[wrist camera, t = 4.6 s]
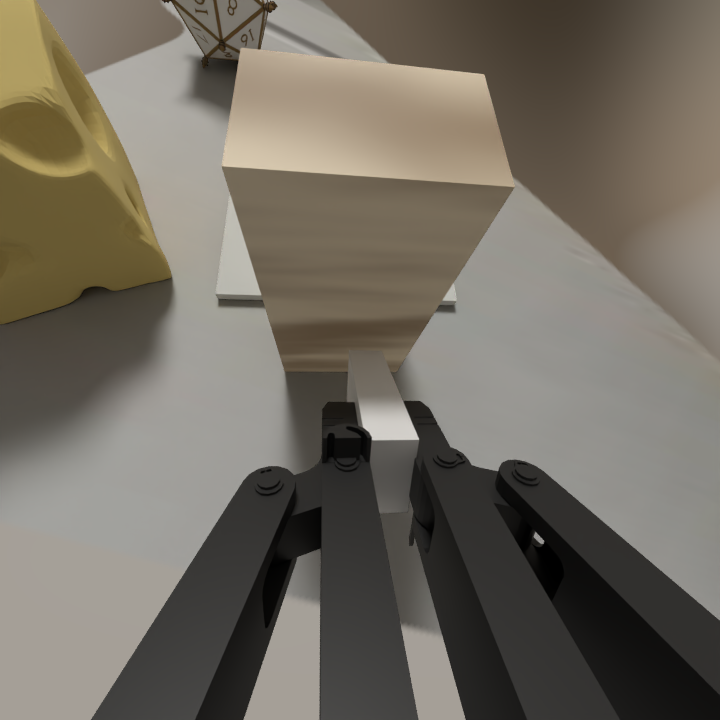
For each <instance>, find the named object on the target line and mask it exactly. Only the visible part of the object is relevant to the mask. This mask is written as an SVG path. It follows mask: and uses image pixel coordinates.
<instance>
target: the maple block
mask: <svg viewBox="0 0 720 720" xmlns="http://www.w3.org/2000/svg"><path fill="white" fill-rule="evenodd" d="M222 169H223V172H224V175H225V179H226V182H227V185H228V188H229V192H230V195H231V198H232V201H233V205H234V208H235V211H236V215H237V218H238V221H239V224H240V228H241V231H242V234H243V237H244V241H245V244H246V247H247V250H248V254H249V257H250V260H251V263H252V267H253V270H254V273H255V276H256V280H257V283H258V286H259V289H260V293H261V296H262V299H263V302H264V306H265V309H266V312H267V315H268V319H269V322H270V325H271V328H272V332H273V335H274V338H275V341H276V345H277V348H278V351H279V354H280V358H281V361H282V364H283V367H284V371H285V372H348V361H349V350H370V351H382V353H383V355H384V357H385V360H386V362H387V364H388V367H389V369H390V372H397V370H398V369H399V367H400V366H401V364H402V363H403V361H404V360H405V358H406V356H407V355H408V353H409V352H410V350H411V349H412V347H413V345H414V344H415V342H416V341H417V339H418V338H419V336H420V334H421V333H422V331H423V330H424V328H425V327H426V325H427V324H428V322H429V320H430V319H431V317H432V316H433V314H434V313H435V311H436V309H437V308H438V306H439V305H440V303H441V302H442V300H443V299H444V297H445V295H446V294H447V292H448V291H449V289H450V288H451V286H452V284H453V283H454V281H455V280H456V278H457V277H458V275H459V273H460V272H461V270H462V269H463V267H464V266H465V264H466V263H467V261H468V259H469V258H470V256H471V255H472V253H473V252H474V250H475V248H476V247H477V245H478V244H479V242H480V241H481V239H482V237H483V236H484V234H485V233H486V231H487V230H488V228H489V227H490V225H491V223H492V222H493V220H494V219H495V217H496V216H497V214H498V212H499V211H500V209H501V208H502V206H503V205H504V203H505V202H506V200H507V198H508V197H509V195H510V194H511V192H512V191H513V189H514V187H515V186H514V182H513V179H512V175H511V171H510V168H509V164H508V160H507V157H506V153H505V149H504V145H503V142H502V138H501V134H500V131H499V127H498V123H497V120H496V116H495V113H494V109H493V105H492V101H491V98H490V94H489V90H488V87H487V83H486V79H485V76H484V74H476V73H467V72H458V71H449V70H439V69H430V68H421V67H412V66H403V65H394V64H385V63H376V62H367V61H358V60H349V59H340V58H331V57H322V56H313V55H304V54H295V53H286V52H277V51H268V50H259V49H249V48H241V49H240V56H239V62H238V68H237V74H236V80H235V87H234V93H233V99H232V105H231V111H230V118H229V124H228V130H227V136H226V142H225V149H224V155H223V161H222Z"/></svg>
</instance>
